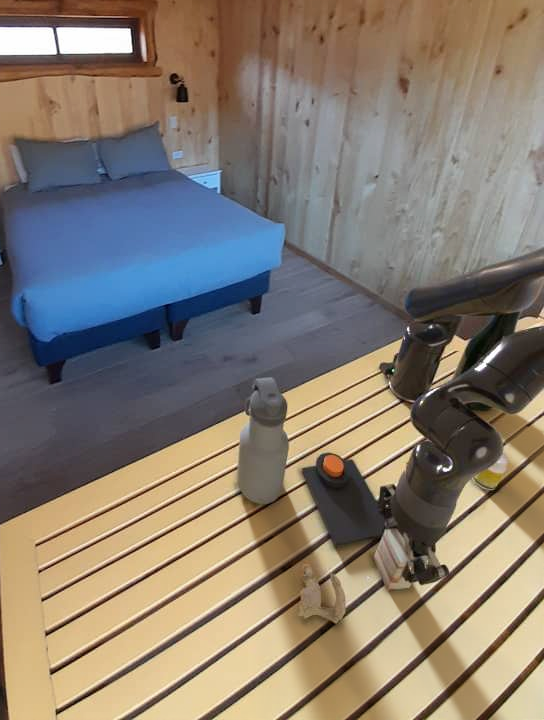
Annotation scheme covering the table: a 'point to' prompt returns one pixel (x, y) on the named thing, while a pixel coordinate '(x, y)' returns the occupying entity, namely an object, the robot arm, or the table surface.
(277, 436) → the water bottle
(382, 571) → the white medicine box
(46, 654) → the table surface
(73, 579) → the table surface
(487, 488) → the supplement bottle
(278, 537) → the table surface
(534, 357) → the robot arm
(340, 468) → the button
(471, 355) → the dark green wine bottle
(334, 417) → the table surface
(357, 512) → the black button panel
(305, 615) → the beige figurine
